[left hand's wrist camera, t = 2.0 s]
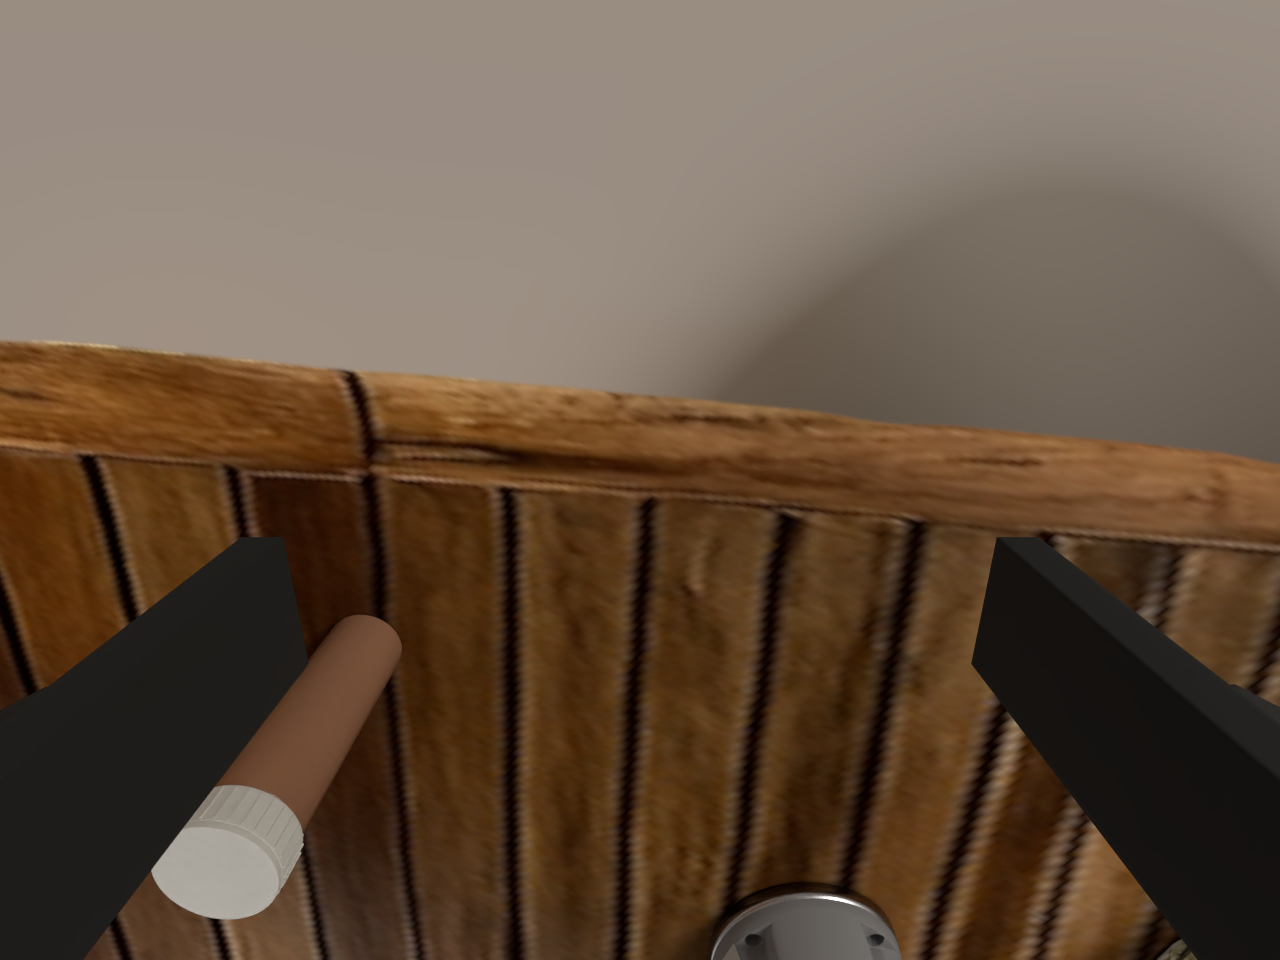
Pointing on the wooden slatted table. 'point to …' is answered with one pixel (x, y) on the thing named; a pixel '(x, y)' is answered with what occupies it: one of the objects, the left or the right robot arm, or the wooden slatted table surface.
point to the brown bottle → (319, 716)
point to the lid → (231, 854)
